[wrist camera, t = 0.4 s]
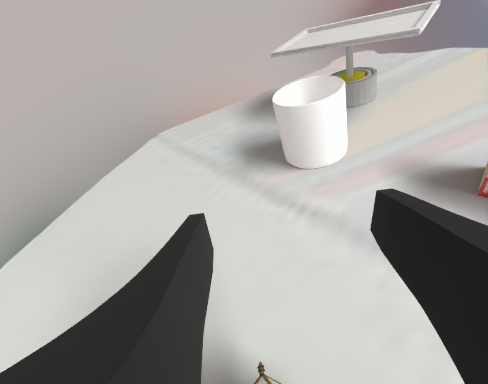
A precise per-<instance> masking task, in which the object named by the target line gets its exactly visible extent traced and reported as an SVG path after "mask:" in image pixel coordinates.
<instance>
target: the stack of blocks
mask: <svg viewBox="0 0 488 384" xmlns="http://www.w3.org/2000/svg"><path fill="white" fill-rule="evenodd" d="M478 195H481V196H486V197H488V162H487V165H486V168H485V171H484V174H483V177H482V180H481V183H480V186H479V189H478Z"/></svg>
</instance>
